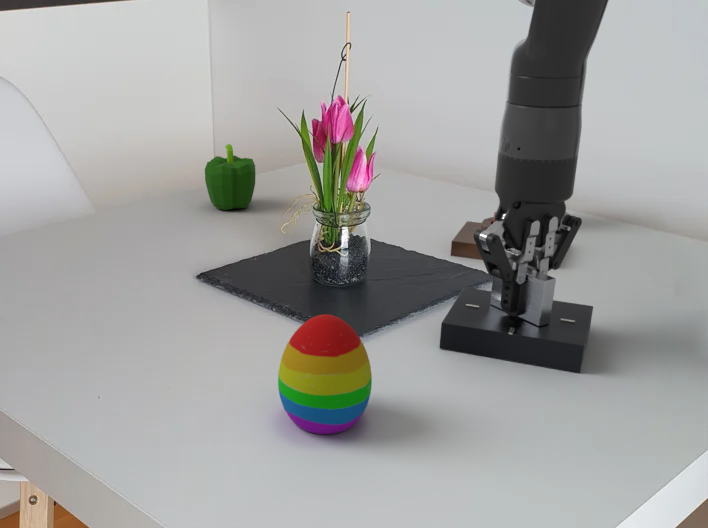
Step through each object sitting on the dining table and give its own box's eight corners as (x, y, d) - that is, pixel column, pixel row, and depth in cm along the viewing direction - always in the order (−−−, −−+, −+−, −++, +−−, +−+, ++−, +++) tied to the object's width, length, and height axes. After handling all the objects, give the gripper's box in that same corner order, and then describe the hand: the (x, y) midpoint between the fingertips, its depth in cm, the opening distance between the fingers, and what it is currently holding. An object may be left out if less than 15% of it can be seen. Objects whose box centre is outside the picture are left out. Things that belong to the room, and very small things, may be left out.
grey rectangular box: (550, 323, 86) (556, 275, 84) (539, 326, 86) (545, 278, 84) (500, 301, 92) (505, 256, 90) (489, 304, 91) (494, 258, 89)
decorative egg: (388, 419, 75) (394, 316, 71) (326, 454, 69) (329, 346, 66) (321, 388, 80) (323, 291, 76) (259, 418, 75) (258, 316, 71)
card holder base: (589, 330, 92) (593, 304, 91) (579, 373, 82) (584, 344, 81) (461, 310, 97) (464, 285, 96) (439, 348, 88) (441, 321, 87)
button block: (558, 246, 118) (561, 219, 117) (549, 269, 110) (552, 240, 108) (465, 235, 123) (468, 209, 122) (450, 256, 115) (452, 228, 113)
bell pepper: (249, 215, 134) (248, 153, 130) (200, 212, 135) (198, 151, 132) (261, 201, 141) (261, 142, 137) (214, 198, 143) (213, 140, 139)
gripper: (515, 164, 76) (497, 338, 82) (617, 147, 82) (592, 310, 89) (458, 150, 82) (445, 312, 89) (557, 135, 88) (538, 288, 95)
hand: (519, 310), depth 89 cm, fingers closed on grey rectangular box
